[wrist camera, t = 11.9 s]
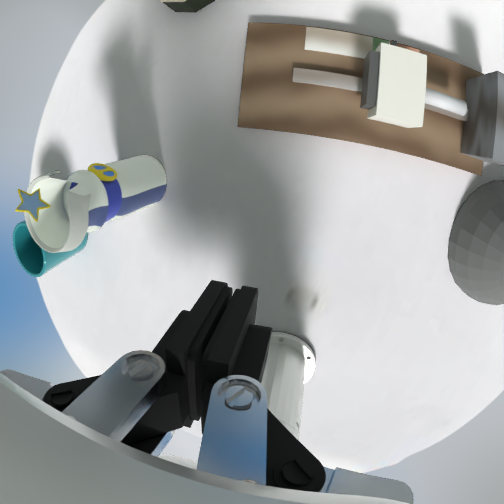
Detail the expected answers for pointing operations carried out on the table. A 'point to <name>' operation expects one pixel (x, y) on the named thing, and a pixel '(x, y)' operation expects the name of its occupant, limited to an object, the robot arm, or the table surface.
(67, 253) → the cup
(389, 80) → the white block grey face
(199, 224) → the table surface
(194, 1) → the wine bottle
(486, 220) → the baseball cap
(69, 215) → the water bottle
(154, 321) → the table surface
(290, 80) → the base
